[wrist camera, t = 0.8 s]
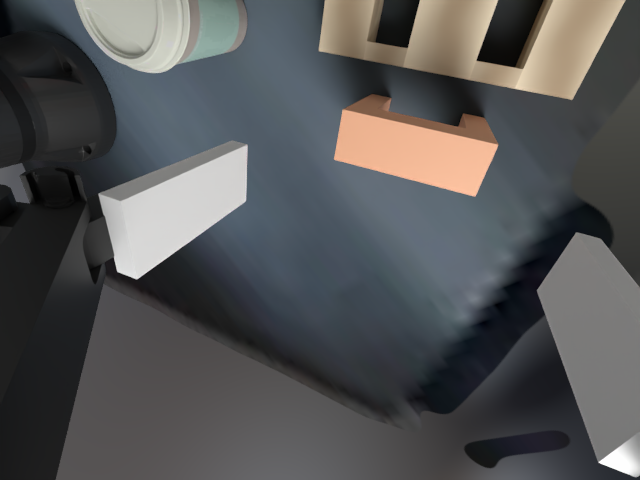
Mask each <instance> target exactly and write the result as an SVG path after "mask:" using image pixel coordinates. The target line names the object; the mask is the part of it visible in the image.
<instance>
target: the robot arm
mask: <svg viewBox="0 0 640 480" xmlns="http://www.w3.org/2000/svg"><path fill="white" fill-rule="evenodd" d="M115 135H116V117H115V112H114V107H113V104H112V100H111V97H110V95H109V92H108V90H107V88H106V85H105V83H104V81H103V80H102V78H101V76H100V74H99V73H98V71H97V70H96V68H95V67H94V65H93V64H92V63H91V61H90V60H89V59H88V58H87V57H86V55H85V54H84V53H83V52H82V51H81V50H80V49H79V48H78V47H76V46H75V45H74V44H73V43H71V42H70V41H69V40H67V39H66V38H64V37H62V36H60V35H58V34H55V33H52V32H43V31H21V32H17V33H14V34H11V35H8V36H5V37H2V38H0V168H4V167H8V166H11V165H15V164H18V163H23V162H27V161H32V160H36V161H64V162H83V161H88V160H92V159H95V158H98V157H101V156H103V155H105V154H106V153H107V152H108V151H109V150H110V149H111V147H112V145H113V143H114V140H115ZM20 178H21V180H22V183H23V186H24V188H25V191H26V194H27V196H28V199H29V202H30V204H29V203H21V202H16V200H15V198H14V195H13V193H12V190H11V188H10V187H8V186H6V185H0V480H55V479H56V476H57V472H58V467H59V463H60V459H61V455H62V451H63V447H64V443H65V438H66V435H67V431H68V426H69V422H70V418H71V414H72V410H73V406H74V402H75V397H76V394H77V390H78V385H79V381H80V377H81V373H82V369H83V365H84V361H85V356H86V353H87V348H88V344H89V340H90V336H91V332H92V328H93V324H94V319H95V316H96V311H97V307H98V303H99V299H100V295H101V290H102V287H103V283H104V279H105V274H106V268H105V264H104V262H106V261H107V260H109V259H111V258H112V257H114V260H115V264H116V268H117V272H119V273H122V274H124V275H127V276H130V277H132V278H135V279H138V278H140V277H141V276H142V275H144V274H145V273H147V272H148V271H149V270H151V269H152V268H154V267H155V266H156V265H158V264H159V263H161V262H162V261H163V260H165V259H166V258H167V257H169V256H170V255H172V254H173V253H174V252H176V251H177V250H179V249H180V248H181V247H183V246H184V245H186V244H187V243H188V242H190V241H191V240H193V239H194V238H195V237H197V236H198V235H200V234H201V233H202V232H204V231H205V230H206V229H208V228H209V227H211V226H212V225H213V224H215V223H216V222H218V221H219V220H220V219H222V218H223V217H225V216H226V215H227V214H229V213H230V212H232V211H233V210H234V209H236V208H237V207H239V206H240V205H241V204H243V203H244V202H245V201H246V184H247V144H243V143H239V142H236V141H230V142H227V143H225V144H222V145H220V146H217V147H215V148H212V149H210V150H207V151H205V152H202V153H200V154H197V155H195V156H192V157H190V158H187V159H185V160H182V161H179V162H177V163H174V164H172V165H169V166H167V167H164V168H162V169H159V170H157V171H154V172H152V173H149V174H147V175H144V176H141V177H139V178H136V179H134V180H131V181H129V182H126V183H124V184H121V185H119V186H116V187H114V188H111V189H109V190H106V191H104V192H101V193H99V194H96V195H93V196H91V197H88V198H87V197H86V194H85V190H84V186H83V183H82V179H81V175H80V172H79V171H78V170H76V169H74V168H70V167H61V166H52V167H42V168H36V169H32V170H29V171H26V172H24V173H23V174H21V175H20ZM537 292H538V295H539V298H540V301H541V303H542V306H543V309H544V312H545V315H546V317H547V320H548V323H549V326H550V328H551V331H552V334H553V337H554V339H555V342H556V345H557V348H558V351H559V354H560V356H561V359H562V362H563V365H564V368H565V370H566V373H567V376H568V378H569V382H570V384H571V387H572V390H573V392H574V395H575V398H576V401H577V404H578V407H579V409H580V412H581V415H582V418H583V420H584V423H585V426H586V429H587V432H588V435H589V437H590V440H591V443H592V446H593V448H594V451H595V454H596V457H597V459H598V462H599V463H601V464H604V465H606V466H609V467H611V468H614V469H616V470H619V471H621V472H624V473H626V474H629V475H631V476H634V477H637V476H639V475H640V288H639V286H638V285H637V284H636V283H635V281H634V280H633V279H632V278H631V276H630V275H629V274H628V273H627V271H626V270H625V269H624V268H623V266H622V265H621V264H620V263H619V261H618V260H617V259H616V258H615V256H614V255H613V254H612V253H611V251H610V250H609V249H608V248H607V246H606V245H605V244H604V243H603V241H602V240H601V239H599V238H595V237H592V236H588V235H584V234H580V233H577V232H576V234H575V235H574V237H573V238H572V240H571V241H570V243H569V244H568V246H567V247H566V249H565V250H564V252H563V253H562V254H561V256H560V257H559V259H558V260H557V262H556V263H555V265H554V266H553V268H552V269H551V271H550V272H549V274H548V275H547V277H546V278H545V280H544V281H543V282H542V284H541V285H540V287H539V288H538V290H537Z"/></svg>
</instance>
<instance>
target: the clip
mask: <svg viewBox="0 0 640 480" xmlns="http://www.w3.org/2000/svg"><path fill="white" fill-rule="evenodd" d="M390 102H391V98H389V97H384V96H380V95H375V94H371V95H369V96H368V97H366V98H364V99H362V100H360V101H358V102H356V103H354V104H352V105H350V106H348V107H346V108H345V109H343V112H342V117H341V123H340V129H339V134H338V140H337V146H336V151H335V157H334V160H338V161H341V162H345V163H349V164H353V165H357V166H360V167H364V168H368V169H372V170H376V171H379V172H383V173H387V174H391V175H395V176H399V177H402V178H406V179H410V180H414V181H418V182H421V183H425V184H429V185H433V186H437V187H440V188H444V189H448V190H452V191H456V192H459V193H463V194H467V195H471V196H476V194H477V192H478V189H479V187H480V185H481V183H482V180H483V178H484V176H485V174H486V172H487V169H488V167H489V165H490V163H491V160H492V158H493V156H494V154H495V151H496V149H497V147H498V143H497V141H496V139H495V137H494V135H493V133H492V131H491V129H490V127H489V125H488V124H487V122H486V120H485V118H483V117H478V116H474V115H469V114H464V113H463V115H462V118H461V120H460V123H459V126H458V127H457V126H452V125H448V124H443V123H439V122H434V121H430V120H425V119H421V118H416V117H412V116H407V115H403V114H398V113H394V112H389V111H388V110H389V106H390Z"/></svg>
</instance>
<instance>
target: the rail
mask: <svg viewBox="0 0 640 480" xmlns="http://www.w3.org/2000/svg"><path fill="white" fill-rule="evenodd" d="M497 2H498V0H420V2H419V6H418V10H417V14H416V18H415V22H414V26H413V30H412V34H411V38H410V41H409V45H408V48H403V47H398V46H392V45H387V44H381V43H375V42H376V37H377V32H378V28H379V23H380V18H381V13H382V8H383V3H384V0H325V5H324V13H323V21H322V29H321V37H320V45H319V51H321V52H326V53H332V54H337V55H342V56H347V57H353V58H358V59H363V60H368V61H373V62H379V63H384V64H389V65H394V66H399V67H405V68H410V69H415V70H420V71H425V72H431V73H436V74H441V75H446V76H452V77H457V78H462V79H467V80H472V81H478V82H483V83H488V84H493V85H498V86H504V87H509V88H514V89H519V90H525V91H530V92H535V93H540V94H545V95H551V96H556V97H561V98H566V99H571V100H572V99H573V97H574V95H575V94H576V92H577V90H578V88H579V86H580V84H581V82H582V80H583V79H584V77H585V75H586V73H587V71H588V69H589V67H590V65H591V64H592V62H593V60H594V58H595V56H596V54H597V52H598V50H599V49H600V47H601V45H602V43H603V41H604V39H605V37H606V35H607V34H608V32H609V30H610V28H611V26H612V24H613V22H614V20H615V19H616V17H617V15H618V13H619V11H620V9H621V7H622V5H623V4H624V2H625V0H543V3H542V5H541V7H540V10H539V12H538V14H537V17H536V19H535V22H534V24H533V26H532V29H531V31H530V33H529V36H528V38H527V40H526V43H525V45H524V48H523V50H522V52H521V55H520V57H519V59H518V62H517V64H516V67H509V66H504V65H498V64H493V63H487V62H482V61H476V60H477V57H478V54H479V52H480V49H481V46H482V43H483V40H484V38H485V35H486V32H487V29H488V27H489V24H490V21H491V18H492V16H493V13H494V10H495V7H496V4H497Z"/></svg>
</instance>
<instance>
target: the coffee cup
mask: <svg viewBox="0 0 640 480" xmlns="http://www.w3.org/2000/svg"><path fill="white" fill-rule="evenodd" d="M74 1H75V4H76V7H77V10H78V13H79V15H80V17H81V20H82V22H83V24H84V26H85V28H86V29H87V31H88V33H89V34H90V36H91V37H92V39H93V40H94V41H95V43H96V44H97V45H98V46H99V47H100V48H101V49H102V51H104V52H105V53H106V54H107V55H108V56H109V57H111V58H112V59H114V60H116V61H117V62H120V63H122V64H125V65H127V66H129V67H131V68H133V69H136V70H139V71H143V72H148V73H161V72H165V71H167V70H169V69H171V68H172V67H173V66H174V65H176V64H180V63H185V62H189V61H193V60H197V59H202V58H206V57H210V56H215V55H219V54H223V53H227V52H231V51H233V50H235V49H236V48H238V47H239V46H240V44H241V43H242V41H243V39H244V37H245V34H246V30H247V13H246V8H245V5H244V2H243V0H74Z"/></svg>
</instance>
